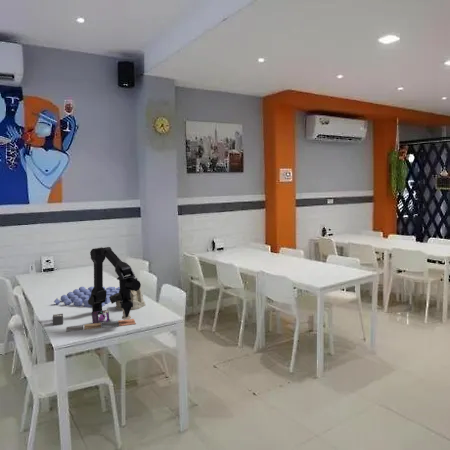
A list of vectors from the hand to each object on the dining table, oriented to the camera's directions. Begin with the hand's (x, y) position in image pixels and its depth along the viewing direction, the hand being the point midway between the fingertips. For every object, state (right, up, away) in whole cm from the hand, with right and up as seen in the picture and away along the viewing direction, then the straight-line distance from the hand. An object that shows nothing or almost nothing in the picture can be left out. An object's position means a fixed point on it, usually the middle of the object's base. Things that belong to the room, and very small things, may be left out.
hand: (126, 316), depth 234 cm
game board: (-13, -5, -4) cm, 14 cm away
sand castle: (-4, -1, +31) cm, 32 cm away
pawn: (0, -1, 0) cm, 1 cm away
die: (-38, -5, +1) cm, 38 cm away
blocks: (-36, 0, +52) cm, 63 cm away
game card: (-15, -4, +3) cm, 16 cm away
